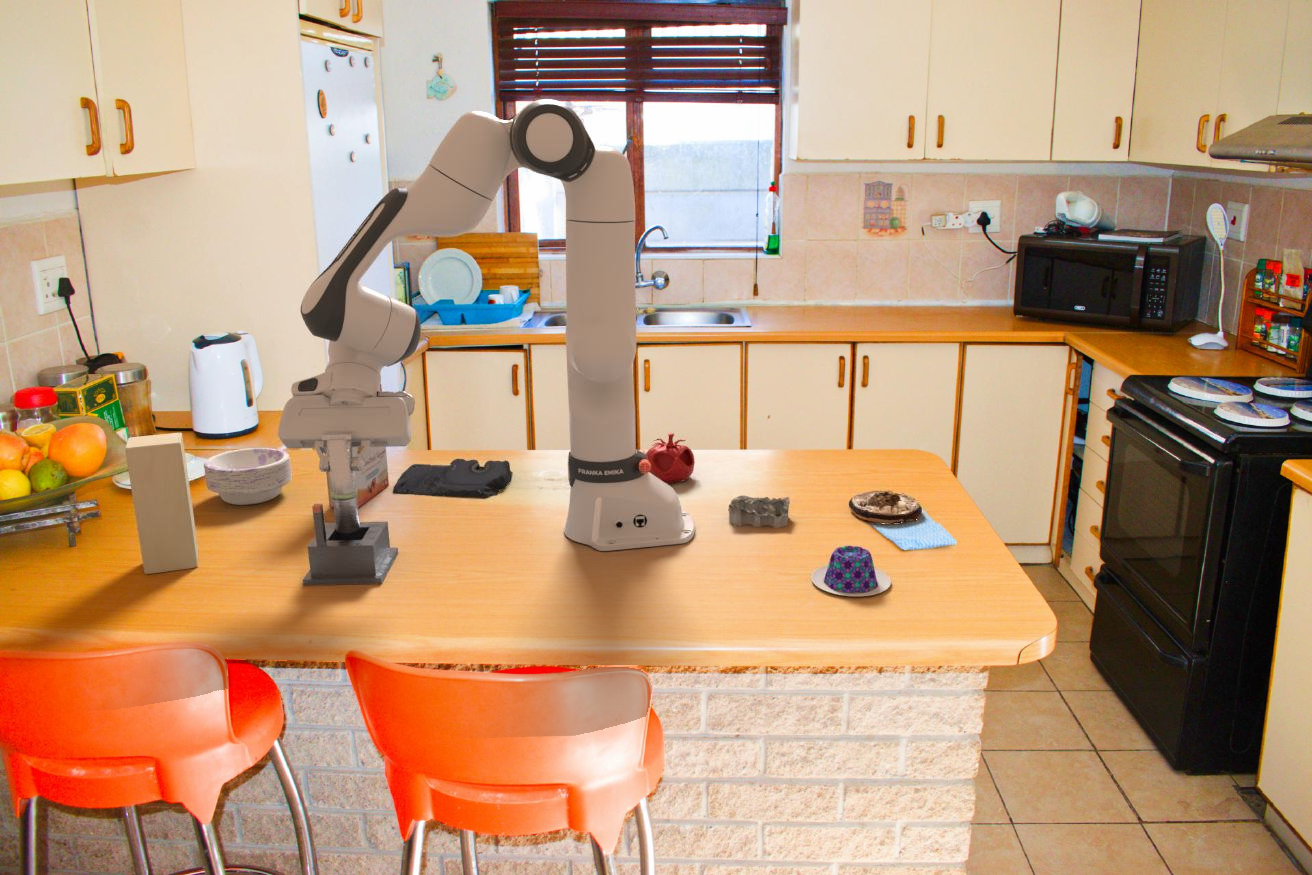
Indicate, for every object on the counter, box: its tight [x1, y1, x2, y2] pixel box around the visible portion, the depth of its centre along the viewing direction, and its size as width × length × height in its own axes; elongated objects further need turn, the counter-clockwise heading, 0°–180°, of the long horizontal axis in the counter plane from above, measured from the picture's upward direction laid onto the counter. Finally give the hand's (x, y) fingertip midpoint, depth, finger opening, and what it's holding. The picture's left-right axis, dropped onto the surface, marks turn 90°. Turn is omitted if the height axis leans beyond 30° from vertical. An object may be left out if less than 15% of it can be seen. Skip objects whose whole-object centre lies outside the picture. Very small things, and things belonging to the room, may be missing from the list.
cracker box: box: [323, 383, 390, 508], centre depth 196 cm, size 14×6×21 cm, turn 168°
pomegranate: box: [645, 432, 696, 484], centre depth 206 cm, size 10×10×9 cm
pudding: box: [810, 545, 892, 597], centre depth 159 cm, size 12×12×5 cm
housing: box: [302, 503, 399, 586], centre depth 165 cm, size 12×12×12 cm
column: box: [322, 431, 361, 533], centre depth 162 cm, size 4×4×16 cm
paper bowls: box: [203, 447, 293, 506], centre depth 199 cm, size 15×15×8 cm
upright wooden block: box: [124, 432, 200, 575], centre depth 167 cm, size 8×7×21 cm
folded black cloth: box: [392, 458, 514, 499], centre depth 205 cm, size 15×22×5 cm
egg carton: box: [728, 495, 791, 529], centre depth 184 cm, size 11×8×4 cm
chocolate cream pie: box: [848, 489, 923, 524], centre depth 187 cm, size 15×15×4 cm
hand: (340, 469), depth 161 cm, fingers closed on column, 3 cm apart
